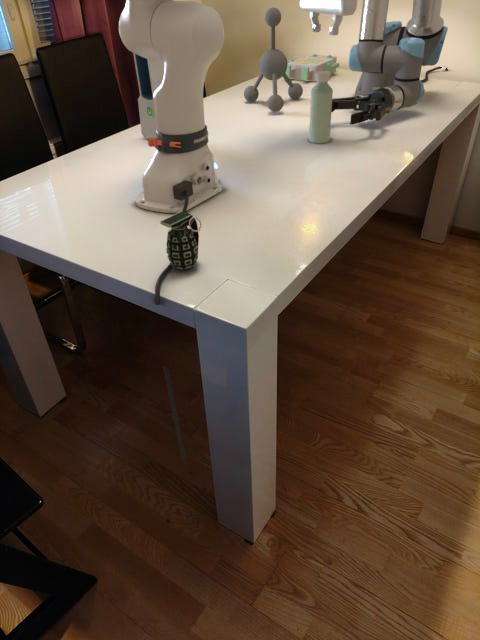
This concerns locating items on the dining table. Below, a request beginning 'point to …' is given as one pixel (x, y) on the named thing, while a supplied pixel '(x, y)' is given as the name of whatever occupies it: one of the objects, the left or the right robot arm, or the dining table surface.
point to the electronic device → (148, 92)
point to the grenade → (182, 240)
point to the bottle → (320, 112)
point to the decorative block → (310, 67)
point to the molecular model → (273, 68)
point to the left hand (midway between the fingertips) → (324, 33)
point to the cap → (322, 76)
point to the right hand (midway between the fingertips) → (334, 114)
